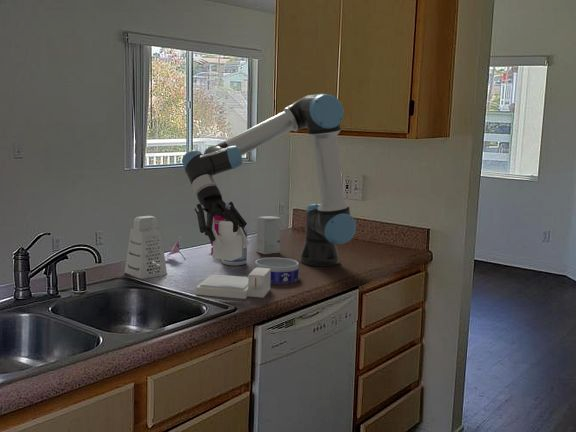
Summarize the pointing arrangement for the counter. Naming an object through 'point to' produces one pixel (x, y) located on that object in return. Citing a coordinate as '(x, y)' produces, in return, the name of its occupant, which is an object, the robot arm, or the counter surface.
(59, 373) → the counter surface
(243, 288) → the kitchen scale
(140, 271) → the grater
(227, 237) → the medicine bottle
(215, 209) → the robot arm
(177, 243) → the lily
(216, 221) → the pepper mill
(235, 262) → the supplement tub
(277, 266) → the dog bowl
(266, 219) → the skincare box
